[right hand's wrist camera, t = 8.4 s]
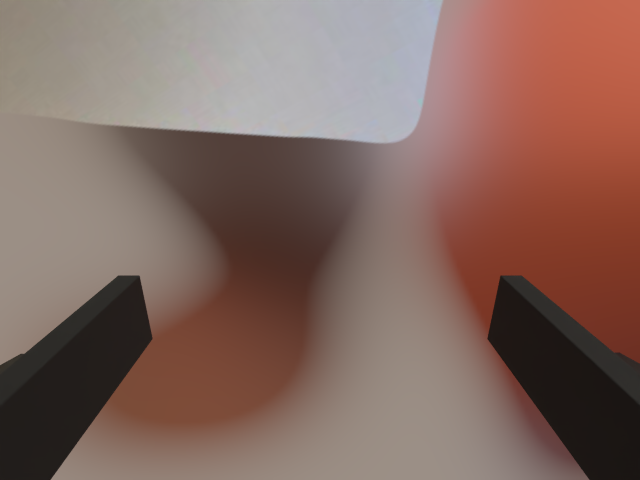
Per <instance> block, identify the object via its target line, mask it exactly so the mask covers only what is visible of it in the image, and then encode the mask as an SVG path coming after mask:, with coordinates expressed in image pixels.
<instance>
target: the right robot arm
mask: <svg viewBox="0 0 640 480" xmlns="http://www.w3.org/2000/svg"><path fill="white" fill-rule="evenodd" d="M151 340H152V334H151V329H150V324H149V319H148V315H147V310H146V305H145V300H144V295H143V290H142V286H141V281H140V276H117V277H116V278H115V279H114V280H113V281H111V282H110V283H109V284H108V285H107V286H105V287H104V288H103V289H102V290H101V291H99V292H98V293H97V294H96V295H95V296H93V297H92V298H91V299H90V300H89V301H87V302H86V303H85V304H84V305H83V306H81V307H80V308H79V309H78V310H77V311H75V312H74V313H73V314H72V315H71V316H69V317H68V318H67V319H66V320H65V321H63V322H62V323H61V324H60V325H59V326H57V327H56V328H55V329H54V330H53V331H51V332H50V333H49V334H48V335H47V336H45V337H44V338H43V339H42V340H41V341H39V342H38V343H37V344H36V345H35V346H33V347H32V348H31V349H30V350H29V351H27V352H26V353H25V354H20V355H18V356H16V357H14V358H13V359H11V360H9V361H7V362H5V363H4V364H2V365H0V480H51V478H52V477H53V475H54V474H55V473H56V471H57V470H58V469H59V467H60V466H61V464H62V463H63V462H64V460H65V459H66V458H67V456H68V455H69V453H70V452H71V451H72V449H73V448H74V447H75V445H76V444H77V442H78V441H79V439H80V438H81V437H82V435H83V434H84V433H85V431H86V430H87V429H88V427H89V426H90V424H91V423H92V422H93V420H94V419H95V417H96V416H97V415H98V413H99V412H100V411H101V409H102V408H103V406H104V405H105V404H106V402H107V401H108V400H109V398H110V397H111V395H112V394H113V393H114V391H115V390H116V388H117V387H118V386H119V384H120V383H121V382H122V380H123V379H124V377H125V376H126V375H127V373H128V372H129V371H130V369H131V368H132V366H133V365H134V364H135V362H136V361H137V359H138V358H139V357H140V355H141V354H142V353H143V351H144V350H145V348H146V347H147V346H148V344H149V343H150V342H151ZM488 340H489V342H490V343H491V344H492V346H493V347H494V348H495V350H496V351H497V353H498V354H499V355H500V357H501V358H502V360H503V361H504V362H505V364H506V365H507V366H508V368H509V369H510V370H511V372H512V373H513V375H514V376H515V377H516V379H517V380H518V382H519V383H520V384H521V386H522V387H523V389H524V390H525V391H526V393H527V394H528V395H529V397H530V398H531V399H532V401H533V402H534V404H535V405H536V406H537V408H538V409H539V411H540V412H541V413H542V415H543V416H544V418H545V419H546V420H547V422H548V423H549V424H550V426H551V427H552V429H553V430H554V431H555V433H556V434H557V435H558V437H559V438H560V440H561V441H562V442H563V444H564V445H565V446H566V448H567V449H568V451H569V452H570V453H571V455H572V456H573V457H574V459H575V460H576V462H577V463H578V464H579V466H580V467H581V469H582V470H583V471H584V473H585V474H586V475H587V477H588V478H589V480H640V364H639V363H637V362H635V361H634V360H632V359H630V358H628V357H626V356H625V355H623V354H621V353H614V352H613V351H611V350H610V349H609V348H608V347H607V346H605V345H604V344H603V343H602V342H601V341H599V340H598V339H597V338H596V337H595V336H593V335H592V334H591V333H590V332H589V331H587V330H586V329H585V328H584V327H583V326H581V325H580V324H579V323H578V322H577V321H575V320H574V319H573V318H572V317H571V316H569V315H568V314H567V313H566V312H565V311H563V310H562V309H561V308H560V307H559V306H557V305H556V304H555V303H554V302H553V301H551V300H550V299H549V298H548V297H547V296H545V295H544V294H543V293H542V292H541V291H539V290H538V289H537V288H536V287H535V286H533V285H532V284H531V283H530V282H529V281H527V280H526V279H525V278H524V277H523V276H500V281H499V286H498V290H497V295H496V300H495V305H494V310H493V315H492V319H491V324H490V329H489V334H488Z"/></svg>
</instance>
